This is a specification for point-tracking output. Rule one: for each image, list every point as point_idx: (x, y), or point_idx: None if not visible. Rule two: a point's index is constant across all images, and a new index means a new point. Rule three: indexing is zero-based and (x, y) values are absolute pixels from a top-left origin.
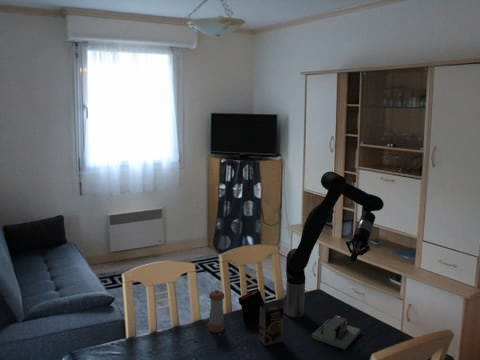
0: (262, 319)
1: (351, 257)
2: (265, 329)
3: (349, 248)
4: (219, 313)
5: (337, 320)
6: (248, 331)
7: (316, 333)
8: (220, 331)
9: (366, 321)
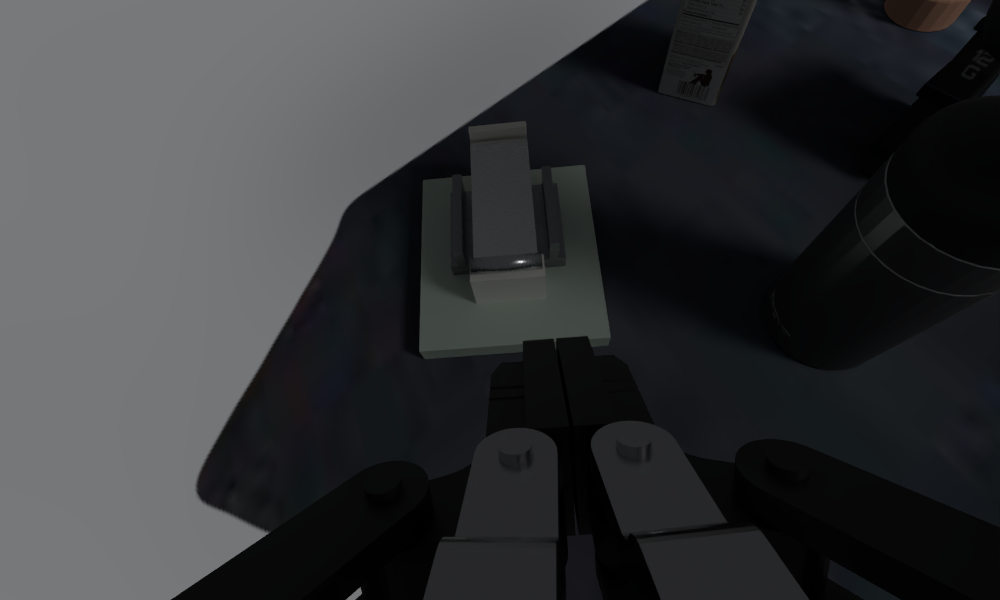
0: None
1: (588, 352)
2: None
3: (861, 501)
4: None
5: (500, 216)
6: (815, 66)
7: (572, 181)
8: (885, 4)
9: None
